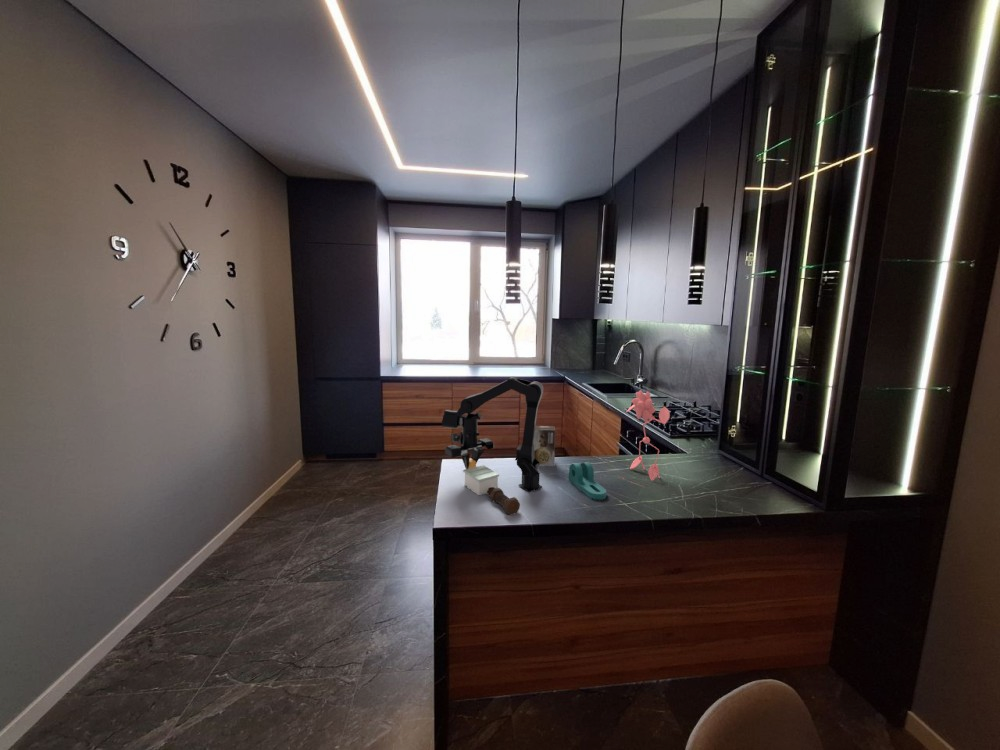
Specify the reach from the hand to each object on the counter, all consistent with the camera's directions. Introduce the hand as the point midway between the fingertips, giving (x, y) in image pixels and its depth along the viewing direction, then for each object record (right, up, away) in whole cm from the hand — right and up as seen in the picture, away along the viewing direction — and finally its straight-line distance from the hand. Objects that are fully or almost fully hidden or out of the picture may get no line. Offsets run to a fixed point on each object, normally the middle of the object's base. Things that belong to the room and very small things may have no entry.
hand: (470, 468), depth 150 cm
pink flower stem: (+67, -5, +7) cm, 68 cm away
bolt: (+12, -8, -18) cm, 23 cm away
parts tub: (+5, -6, -6) cm, 9 cm away
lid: (+3, 0, -5) cm, 6 cm away
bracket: (+44, -7, -5) cm, 45 cm away
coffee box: (+31, -3, +19) cm, 36 cm away
